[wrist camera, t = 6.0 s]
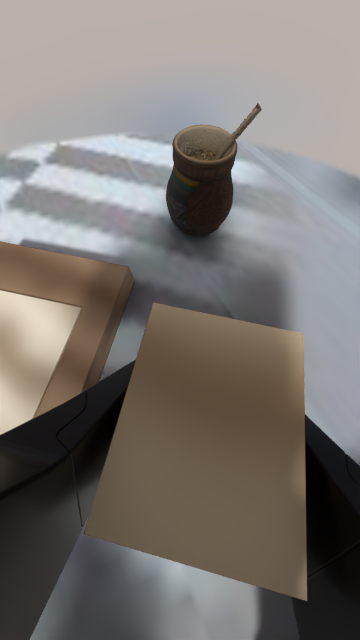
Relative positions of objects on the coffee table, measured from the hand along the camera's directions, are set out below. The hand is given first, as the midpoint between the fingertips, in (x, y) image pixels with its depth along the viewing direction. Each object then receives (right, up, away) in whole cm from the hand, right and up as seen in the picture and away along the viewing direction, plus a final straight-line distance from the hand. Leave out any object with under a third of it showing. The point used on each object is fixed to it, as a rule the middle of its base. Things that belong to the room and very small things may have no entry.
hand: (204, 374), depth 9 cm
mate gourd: (+1, +15, +14) cm, 21 cm away
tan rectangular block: (0, -4, +6) cm, 7 cm away
